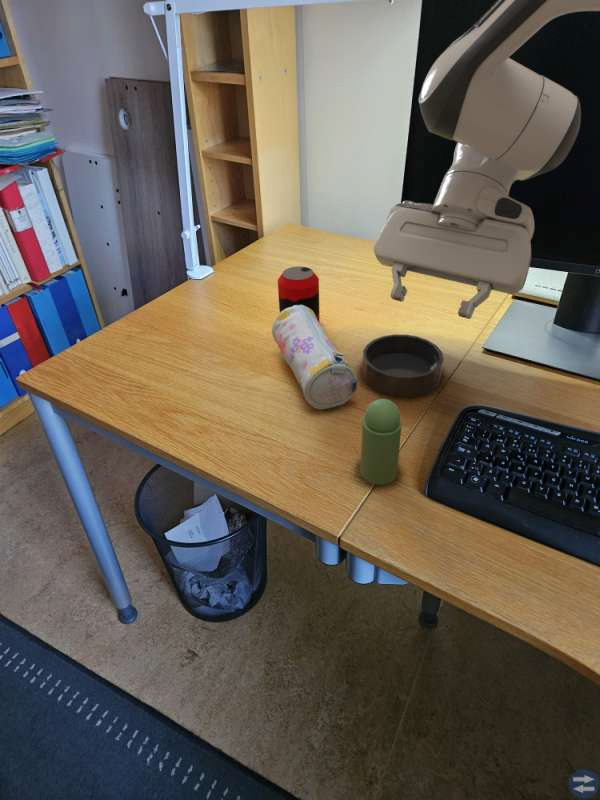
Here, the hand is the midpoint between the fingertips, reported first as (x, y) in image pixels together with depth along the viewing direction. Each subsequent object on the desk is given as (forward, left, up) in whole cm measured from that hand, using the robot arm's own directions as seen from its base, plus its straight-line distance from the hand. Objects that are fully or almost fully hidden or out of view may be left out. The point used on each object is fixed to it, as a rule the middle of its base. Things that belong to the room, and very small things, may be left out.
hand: (429, 307), depth 73 cm
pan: (+5, -12, -20) cm, 24 cm away
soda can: (+27, -20, -20) cm, 39 cm away
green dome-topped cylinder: (+2, +12, -20) cm, 23 cm away
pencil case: (+19, -6, -20) cm, 28 cm away
